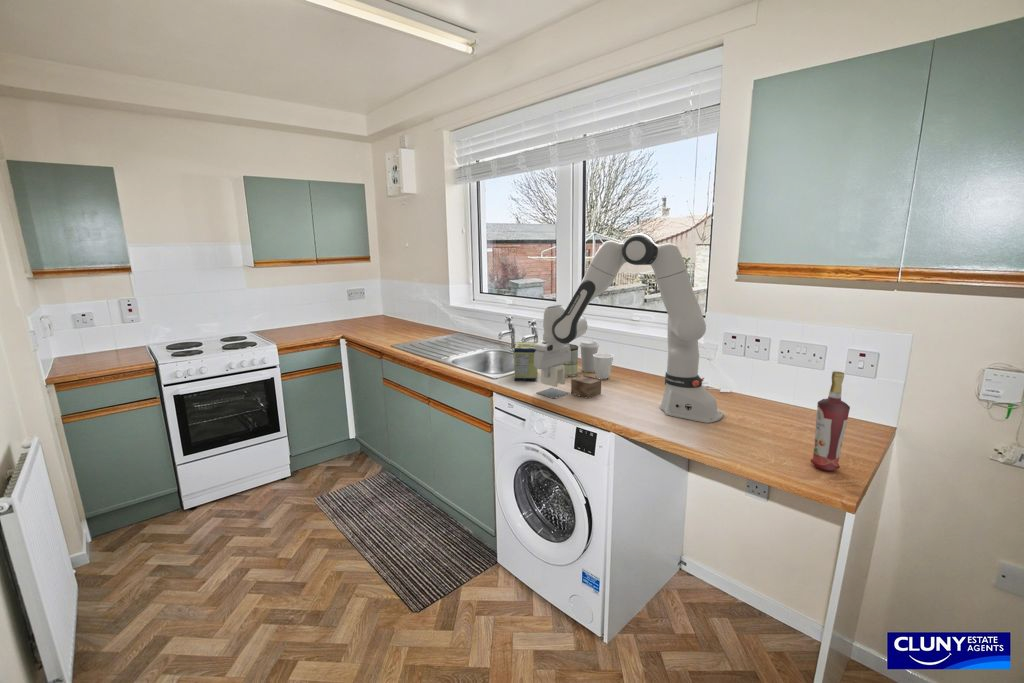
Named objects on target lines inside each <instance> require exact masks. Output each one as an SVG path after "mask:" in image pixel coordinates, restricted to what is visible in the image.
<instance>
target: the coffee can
mask: <svg viewBox="0 0 1024 683" xmlns="http://www.w3.org/2000/svg"><path fill="white" fill-rule="evenodd" d="M569 344H570V350H571V360H570V362H566V363H563V365H564V366H565V376H567V377H566V378H569V377H568V376H573V377H576V376H578V369H579V368H578V365H579V364H578V359H579V345H577V344H571V343H569Z"/></svg>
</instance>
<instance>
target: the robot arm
mask: <svg viewBox="0 0 1024 683" xmlns="http://www.w3.org/2000/svg"><path fill="white" fill-rule="evenodd" d="M626 263H628V264H631V265H634V266H646V265H647V266H651V268H652V270H653V272H654V277H655V280H656V283H657V287H658V289H659V293H660V297H661V299H662V302H663V304H664V307H665V310H666V313H667V315H668V317H667V363H666V364H667V366H666V372H665V375H664V385H665V387H664V393H663V395H662V396H663V397H662V400H661V402H660V406H659V408H660V409H661V411H663V412H664V414H665V415H666V416H669V417H676V418H680V419H686V420H690V421H694V422H700V423H704V424H705V423H706V424H711V423H716V422H718V421H719V420H722V418H723V417H724V412H723V411H722V410H720V409H718V403H717V402H718V401H717V399H716V397H715V396H713V394H711V393H710V392H709V391H708V389H706V388H705V387H704V386H703V385H702V384H703V382H704V381H705V377H701V376H700V375H699V374H698V373H699V366H700V365H699V363H700V362H699V361H700V353H699V352H700V350H699V340H700V339H702V337H704V335H705V334H706V330H707V324H706V321H705V318H704V314H703V313H702V309H701V306H700V304H699V302H698V298H697V297H696V294H695V292H694V289H693V286H692V281H691V279H690V276H689V272H688V269H687V266H686V263H685V259H684V258H683V255H682V252H681V251H680V249H679V247H678V246H677V245H676V244H674V243H662V244H657V243H656V242H655V240H654V239H653V238H652V236H650V234H648V233H644V232H643V233H642V232H639V233H634V234H632V235H630V236H629V237H627V238H626V239H625V240H624V241H623V242H622V243H621V242H619V241H616V240H606V241H604V242H603V243H602V244H601V246H599V248H598V249H597V251H596V253H595V254H594V255H593V257H592V259H591V260H590V263H589V265H588V267H587V269H586V271H585V274H584V276H583V278H582V280H581V282H580V284H579V286H578V288H577V290H576V291H575V293H574V295H573V296H572V299H571V300H570V302H569V303H568V305H567V306H566V308H565V306H564V305H561V304H556V305H555V304H553V305H550V306H548V307H546V308H545V310H544V312H543V318H542V319H543V321H542V322H543V324H542V327H543V335H542V339H540V340H539V341H538V342H536V343H537V344H535V346H534V349H535V350H536V351H535V353H534V366H535V368H537V370H541V369H542V370H543V372H544V377H546V378H548V377H550V373H548V367H552V366H556V365H559V364H560V365H563V363H566V362H570V360H571V350H570V344H571V342H572V341H574V340H576V339H578V338H580V337H582V336H583V335H584V334H586V332H587V330H588V321H587V319H586V317H584V316H583V314H584V312H585V311H586V309H587V307H588V305H590V303H591V302H592V301H593V300H594V299H595V298H597V297H598V296H599V295H600V294H602V293H604V292H605V291H607V290H608V288H610V286H611V285H612V284H613V283H614V281H615V278H616V277H617V275H618V274H619V271H620V270H621V268H622V266H623V265H624V264H626Z"/></svg>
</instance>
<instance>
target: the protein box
mask: <svg viewBox="0 0 1024 683" xmlns="http://www.w3.org/2000/svg"><path fill="white" fill-rule="evenodd" d="M537 343H538V342H525V341H523V342H518V341H517V342H516V344H515V347H514V348H513V351H514V353H513V356H514V364H513V365H514V370H513V371H514V373H513V374H514V381H515V382H518V381H519V382H536V381H537V379H538V369H537V368H535V366H534V353H535V351H536V350H535V349H534V346H535V344H537Z"/></svg>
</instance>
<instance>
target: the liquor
mask: <svg viewBox="0 0 1024 683" xmlns="http://www.w3.org/2000/svg"><path fill="white" fill-rule="evenodd" d="M844 377H845V373H844V372H842V371H837V370H835V371H832V372H831V386H830V388H829V392H828V396H827V398H822V399H821V400H819V401H817V408H816V409H817V410H816V418H815V430H814V431H815V434H814V444H813V446H814V447H813V452H812V453H813V454H812V458H811V459H810V462H811V464H812V465H813V466H814V467H815V468H816V469H818V470H819V471H823V472H829V473H830V472H834V471H837V470H839V469H840V468H841V466H840V464H839V461H840V456H841V451H842V446H843V440H844V436H845V433H846V432H845V431H846V429H847V428H846V427H847V424H848V419H849V413H850V408H851V406H850V405H849V404H847V403H846V402H845V401H843V400H842V387H843V386H842V385H843V381H844Z"/></svg>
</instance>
